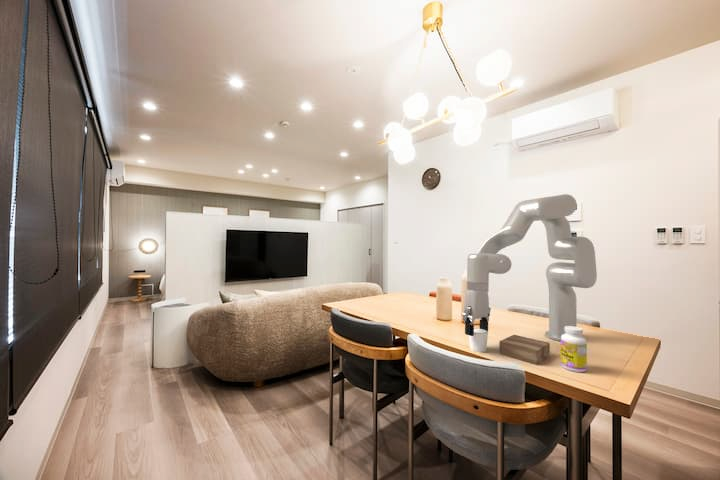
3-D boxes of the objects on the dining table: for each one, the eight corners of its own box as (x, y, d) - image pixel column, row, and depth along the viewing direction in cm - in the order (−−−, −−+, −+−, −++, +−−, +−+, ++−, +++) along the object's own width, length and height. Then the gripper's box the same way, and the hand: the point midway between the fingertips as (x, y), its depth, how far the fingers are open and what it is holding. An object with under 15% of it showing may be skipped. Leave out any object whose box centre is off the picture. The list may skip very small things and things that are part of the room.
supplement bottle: (555, 364, 95) (555, 325, 95) (574, 363, 96) (574, 324, 96) (572, 373, 89) (572, 331, 89) (592, 372, 89) (592, 330, 89)
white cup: (484, 346, 112) (484, 328, 112) (490, 353, 105) (490, 333, 105) (466, 345, 112) (466, 327, 112) (471, 352, 105) (471, 333, 106)
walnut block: (514, 347, 111) (514, 334, 112) (549, 357, 102) (549, 343, 102) (499, 355, 104) (499, 341, 104) (536, 366, 95) (536, 350, 95)
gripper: (480, 284, 117) (479, 327, 117) (455, 287, 106) (454, 334, 106) (499, 286, 111) (498, 331, 111) (473, 290, 100) (472, 339, 100)
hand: (476, 332), depth 108 cm, fingers open, 9 cm apart
